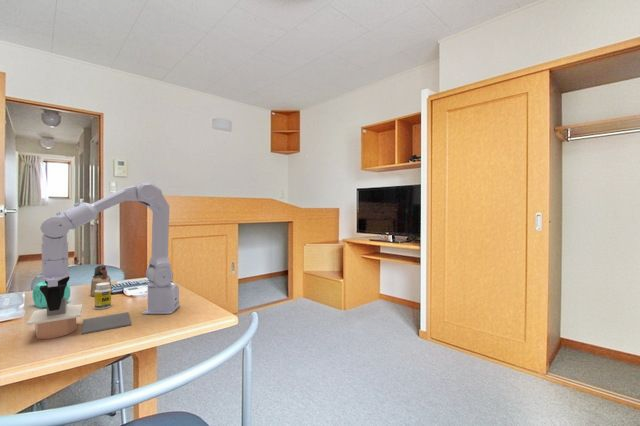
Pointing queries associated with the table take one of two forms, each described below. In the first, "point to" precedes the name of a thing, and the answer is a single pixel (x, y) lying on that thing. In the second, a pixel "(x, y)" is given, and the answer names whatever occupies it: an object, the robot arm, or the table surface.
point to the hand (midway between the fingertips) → (56, 306)
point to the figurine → (99, 278)
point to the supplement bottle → (102, 296)
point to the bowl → (55, 328)
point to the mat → (105, 323)
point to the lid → (56, 313)
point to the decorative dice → (40, 298)
